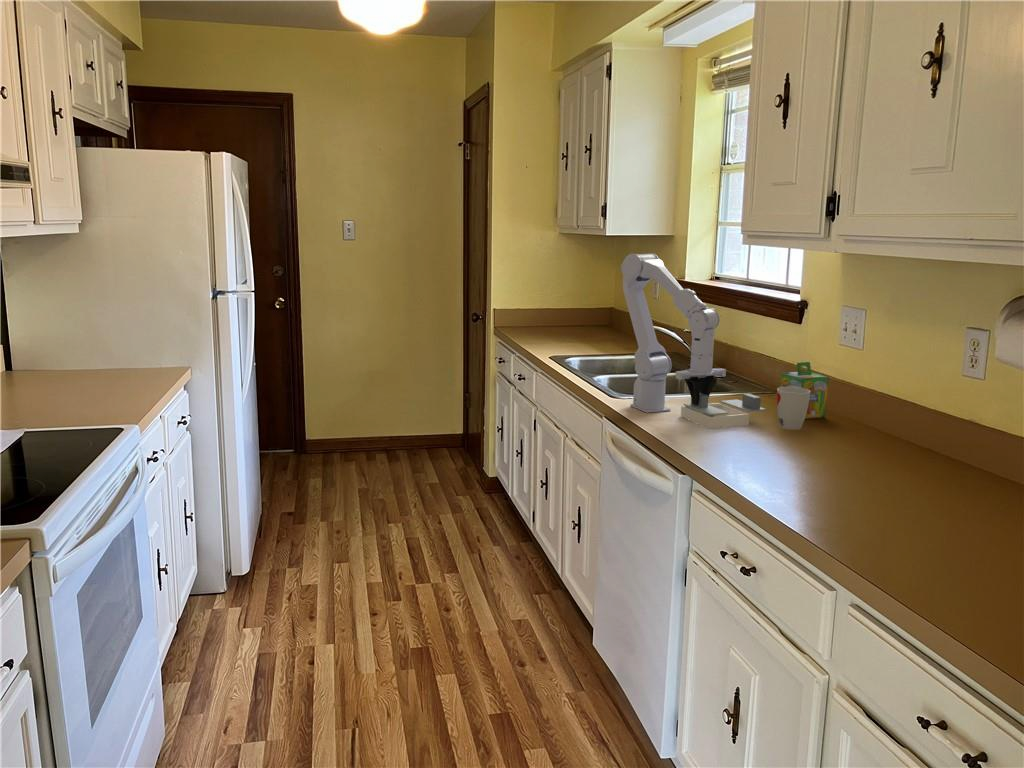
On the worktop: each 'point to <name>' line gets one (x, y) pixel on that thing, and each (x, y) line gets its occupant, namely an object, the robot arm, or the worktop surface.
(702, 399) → the flap near
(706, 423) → the carton
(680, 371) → the robot arm
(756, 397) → the flap far
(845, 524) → the worktop surface
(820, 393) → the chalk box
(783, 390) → the cup
